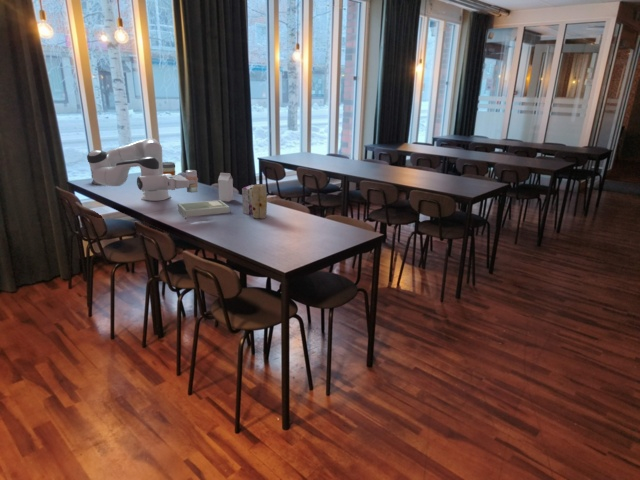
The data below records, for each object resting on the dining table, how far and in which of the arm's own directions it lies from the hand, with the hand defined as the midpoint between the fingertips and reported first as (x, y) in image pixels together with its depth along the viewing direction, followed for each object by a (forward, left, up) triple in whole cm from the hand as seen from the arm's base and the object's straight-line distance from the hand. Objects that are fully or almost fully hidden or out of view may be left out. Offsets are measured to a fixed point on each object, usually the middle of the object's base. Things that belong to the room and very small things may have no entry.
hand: (193, 180), depth 246 cm
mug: (-114, -39, -20) cm, 122 cm away
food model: (+24, +31, -20) cm, 44 cm away
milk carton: (-22, +26, -20) cm, 40 cm away
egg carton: (0, +12, -19) cm, 23 cm away
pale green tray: (0, +5, -20) cm, 21 cm away
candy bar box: (+12, +30, -20) cm, 38 cm away
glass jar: (0, -1, -7) cm, 7 cm away
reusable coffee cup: (-98, +4, -20) cm, 100 cm away
